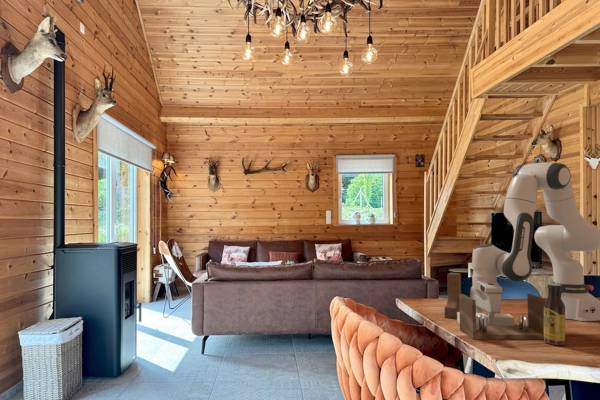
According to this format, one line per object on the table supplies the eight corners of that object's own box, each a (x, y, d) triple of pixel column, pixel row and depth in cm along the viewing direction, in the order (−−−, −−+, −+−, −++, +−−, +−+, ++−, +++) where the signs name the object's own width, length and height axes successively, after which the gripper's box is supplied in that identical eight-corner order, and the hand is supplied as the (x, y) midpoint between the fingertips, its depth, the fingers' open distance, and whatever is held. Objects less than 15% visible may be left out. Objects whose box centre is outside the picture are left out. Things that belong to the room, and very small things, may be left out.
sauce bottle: (539, 340, 144) (538, 282, 145) (556, 340, 144) (555, 282, 145) (552, 346, 137) (551, 285, 138) (570, 346, 138) (569, 285, 139)
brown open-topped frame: (531, 329, 158) (530, 293, 158) (550, 339, 146) (549, 300, 146) (459, 329, 158) (459, 293, 158) (472, 339, 146) (472, 300, 146)
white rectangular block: (510, 324, 168) (509, 314, 168) (514, 328, 162) (514, 317, 162) (457, 321, 172) (457, 312, 172) (459, 325, 166) (459, 315, 166)
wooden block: (455, 319, 175) (454, 275, 176) (444, 317, 178) (443, 274, 178) (461, 315, 182) (460, 273, 183) (451, 313, 185) (450, 272, 185)
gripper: (466, 280, 178) (466, 313, 177) (487, 289, 157) (488, 326, 157) (481, 280, 178) (481, 313, 177) (504, 289, 157) (505, 326, 157)
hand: (485, 319), depth 167 cm, fingers open, 7 cm apart
